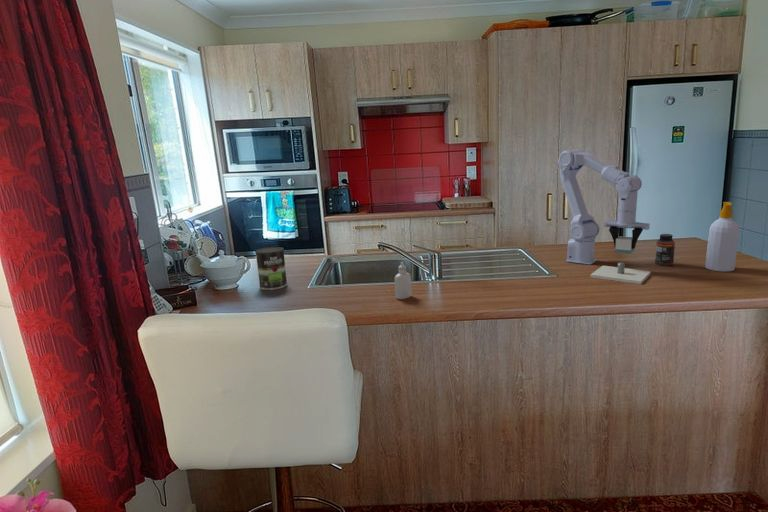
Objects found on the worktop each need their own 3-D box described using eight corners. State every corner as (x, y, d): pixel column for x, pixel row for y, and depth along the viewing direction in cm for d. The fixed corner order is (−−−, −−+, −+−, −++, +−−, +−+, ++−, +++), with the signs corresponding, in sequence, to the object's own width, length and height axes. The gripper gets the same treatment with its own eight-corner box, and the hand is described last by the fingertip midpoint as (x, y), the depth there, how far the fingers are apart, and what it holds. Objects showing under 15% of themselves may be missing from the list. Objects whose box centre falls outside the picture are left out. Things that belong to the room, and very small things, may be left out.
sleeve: (615, 252, 169) (615, 238, 168) (618, 249, 172) (619, 236, 171) (630, 253, 166) (631, 240, 164) (633, 250, 169) (634, 237, 168)
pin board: (590, 277, 164) (591, 264, 163) (602, 268, 175) (603, 256, 174) (640, 284, 154) (641, 271, 153) (650, 274, 164) (651, 261, 163)
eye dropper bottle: (394, 296, 156) (392, 261, 154) (410, 294, 157) (409, 260, 154) (396, 300, 152) (394, 264, 149) (413, 298, 153) (411, 263, 150)
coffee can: (290, 286, 173) (286, 250, 170) (263, 292, 169) (258, 254, 165) (283, 280, 182) (279, 245, 179) (256, 285, 178) (252, 249, 174)
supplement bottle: (668, 261, 178) (671, 232, 175) (676, 266, 172) (679, 236, 169) (651, 262, 178) (654, 233, 176) (659, 266, 173) (661, 236, 170)
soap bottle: (708, 271, 163) (716, 204, 157) (702, 265, 171) (709, 200, 166) (738, 273, 160) (747, 204, 154) (730, 266, 168) (738, 200, 163)
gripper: (602, 211, 167) (600, 247, 170) (647, 213, 158) (644, 252, 161) (607, 208, 172) (605, 244, 175) (652, 210, 163) (649, 247, 166)
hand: (624, 247), depth 168 cm, fingers closed on sleeve, 5 cm apart
